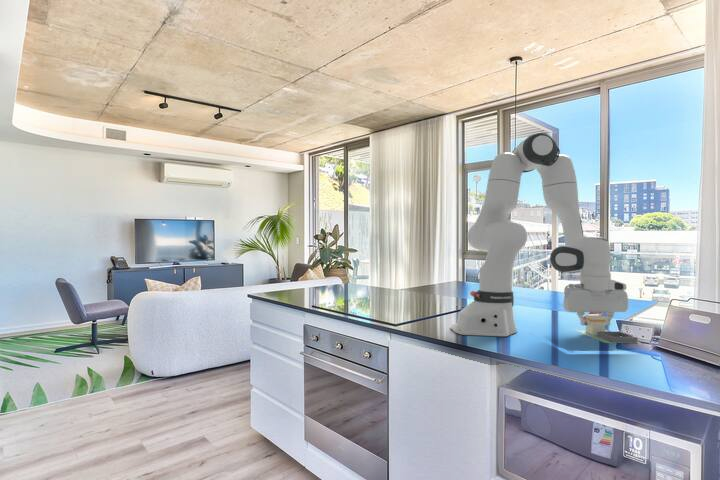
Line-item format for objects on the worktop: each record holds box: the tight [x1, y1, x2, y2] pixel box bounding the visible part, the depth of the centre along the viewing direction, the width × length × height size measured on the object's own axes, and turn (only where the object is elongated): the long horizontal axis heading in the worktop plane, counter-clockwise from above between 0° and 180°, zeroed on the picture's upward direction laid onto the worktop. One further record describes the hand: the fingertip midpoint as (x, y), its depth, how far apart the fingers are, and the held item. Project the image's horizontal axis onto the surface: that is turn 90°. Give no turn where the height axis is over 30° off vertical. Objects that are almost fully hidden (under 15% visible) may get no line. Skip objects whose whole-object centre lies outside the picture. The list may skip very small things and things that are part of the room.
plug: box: [585, 313, 606, 335], centre depth 136 cm, size 4×4×6 cm
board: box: [574, 329, 641, 344], centre depth 132 cm, size 11×17×2 cm, turn 1°
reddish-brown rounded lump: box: [583, 312, 607, 320], centre depth 153 cm, size 10×5×7 cm, turn 169°
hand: (595, 325), depth 136 cm, fingers open, 6 cm apart
